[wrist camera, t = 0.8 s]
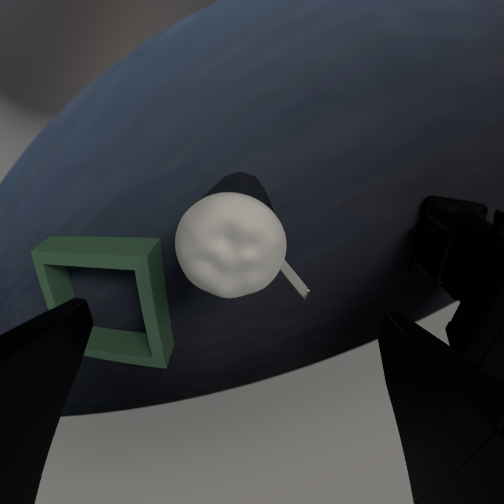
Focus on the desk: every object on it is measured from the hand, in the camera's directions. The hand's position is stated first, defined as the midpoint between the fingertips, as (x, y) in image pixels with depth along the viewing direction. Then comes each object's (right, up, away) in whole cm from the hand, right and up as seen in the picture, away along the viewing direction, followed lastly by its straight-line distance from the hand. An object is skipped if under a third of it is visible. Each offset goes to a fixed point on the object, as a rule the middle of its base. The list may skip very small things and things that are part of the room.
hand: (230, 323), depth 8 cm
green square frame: (-11, -1, +15) cm, 19 cm away
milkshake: (0, +6, +12) cm, 13 cm away
